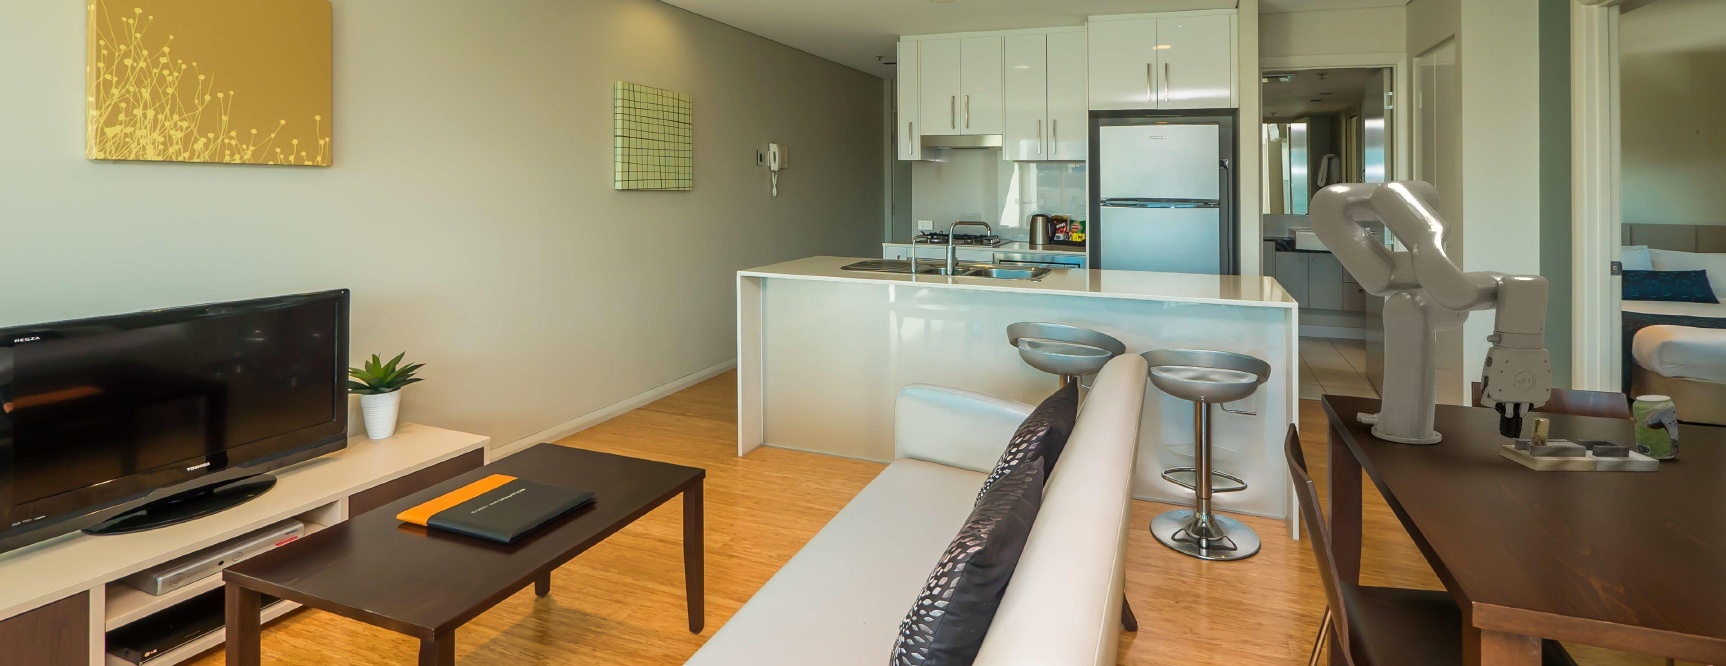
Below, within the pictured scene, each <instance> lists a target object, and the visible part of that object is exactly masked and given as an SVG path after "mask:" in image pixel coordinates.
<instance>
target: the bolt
mask: <svg viewBox="0 0 1726 666" xmlns="http://www.w3.org/2000/svg"><path fill="white" fill-rule="evenodd" d="M1531 428H1532V429H1531V438H1530V439H1531V442H1526V451H1529V452H1530V447H1531V445H1542V446H1580V445H1577V444H1576V442H1575V443H1574V442H1572V441H1570V442H1547V440H1548V439H1549V429H1550V419H1549V418H1546V417H1545V418H1544V417H1533V419H1532V427H1531Z"/></svg>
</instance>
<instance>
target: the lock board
mask: <svg viewBox="0 0 1726 666" xmlns="http://www.w3.org/2000/svg"><path fill="white" fill-rule="evenodd" d="M1514 439H1515V440H1514V444H1511V445H1510V444H1501V447H1500V456H1501V457H1505V459H1508V460H1511V461H1513V462H1516V463H1518V464H1520V465H1522V466H1525V467H1526V468H1529V469H1531V470H1533V471H1537V472H1539V471H1544V472H1545V471H1550V472H1551V471H1553V472H1554V471H1555V472H1556V471H1558V472H1561V471H1569V472H1571V471H1573V472H1581V471H1583V472H1658V471H1659V468H1660V467H1659V466H1660V459H1653V458H1650V457H1648V456H1645V455H1642V454H1639V453H1637V451H1633V450H1631V449H1630V448H1631V447H1629V446H1627V445H1624V444H1622V443H1618V442H1616V441H1615V442H1614V441H1613V440H1609V439H1597V438H1596V439H1589V438H1588V439H1575V444H1577V445H1580V446H1542V445H1531V447H1530V452H1529V451H1526V442H1531V438H1530V439H1527V438H1525V439H1524V438H1523V439H1522V438H1514ZM1547 442H1571V441H1570V440H1567V439H1566V438H1564V439H1563V438H1562V439H1556V438H1555V439H1554V438H1553V439H1552V438H1551V439H1549V438H1548V440H1547Z"/></svg>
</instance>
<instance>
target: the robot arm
mask: <svg viewBox="0 0 1726 666" xmlns="http://www.w3.org/2000/svg"><path fill="white" fill-rule="evenodd" d="M1440 205H1441V197H1440V193H1439V191H1438V190H1437V188H1436V187H1435V185H1432V184H1431V183H1430V182H1428V181H1425V180H1419V179H1418V180H1416V179H1415V180H1408V179H1407V180H1404V179H1403V180H1391V181H1386V182H1342V183H1334V184H1330V185H1327V186H1326V185H1325V186H1324V187H1322V188H1321V189H1319V190H1317V192H1316V193H1315V194H1314V195H1313V196H1312V199H1311V201H1310V204H1309V211H1308V217H1309V218H1308V219H1309V223H1310V224H1309V225H1310V226H1311V230H1312V232H1313V234H1314V235H1315V236H1316V237H1317V239H1318V240H1319V241H1320V242H1321V244H1322V245H1323V246H1324V247H1325V248H1326V249H1327V250H1328V251H1330V253H1331V254H1332V255H1334V257H1335V258H1336V259H1337V260H1338V261H1339V262H1340V263H1341V265H1342V266H1343V267H1344V268H1345V269H1346V270H1347V271H1348V273H1350V275H1351V276H1352V278H1353V279H1355V281H1356V282H1357V283H1358V284H1359V286H1361V288H1363V289H1364V290H1365V292H1366V293H1368V294H1370V295H1372V296H1376V297H1389V298H1388V299H1387V300H1386V302H1384V305H1383V308H1382V323H1383V324H1382V325H1383V329H1384V339H1385V340H1384V342H1385V343H1384V347H1385V348H1384V350H1385V351H1384V362H1383V363H1384V367H1383V368H1384V369H1383V383H1382V398H1381V409H1380V411H1379V413H1377V412H1375V413H1374V414H1371V413H1365V412H1357V415H1356V420H1357V422H1361V424H1366V425H1368V424H1371V425H1373V426H1372V427H1371V434H1372V435H1373V436H1374V437H1376V438H1379V439H1382V440H1386V441H1389V442H1394V443H1395V442H1396V443H1401V444H1411V445H1433V444H1437V443H1439V442H1441V441H1442V437H1443V435H1442V434H1441V433H1440V432H1438V431H1436V430H1434V426H1435V424H1434V423H1435V411H1436V398H1437V388H1438V377H1439V376H1438V373H1439V359H1440V358H1439V356H1440V355H1439V348H1438V344H1437V341H1436V338H1435V333H1441V332H1448V331H1453V330H1455V329H1458V328H1460V327H1462V325H1464V324H1465V323H1466V321H1467V320H1468V318H1469V316H1470V312H1475V311H1489V310H1495V314H1494V327H1493V331H1492V334H1490V335H1489V334H1488V335H1487V336H1486V341H1487V342H1488V343H1491V345H1492V346H1489V347H1488V350H1487V353H1486V355H1485V359H1484V362H1483V368H1482V373H1481V379H1480V395H1481V396H1482V397H1481V400H1480V404H1481V405H1482V406H1485V407H1487V408H1492V409H1494V410H1495V411H1496V413H1497V414H1498V415H1500V416H1499V417H1500V419H1499V427H1498V428H1499V434H1500V435H1501V436H1503V437H1506V438H1508V439H1521V433H1522V430H1523V429H1522V428H1523V419H1524V418H1526V417H1527V416H1528V413H1529V412H1530V411H1532V410H1533V409H1536V408H1541V407H1544V406H1545V405H1546V402H1547V401H1549V399H1550V398H1551V393H1552V368H1551V367H1552V365H1551V358H1550V352H1549V349H1547V348H1544V344H1545V329H1546V320H1547V310H1548V302H1549V301H1548V300H1549V289H1550V285H1549V283H1550V282H1549V281H1548V279H1547V278H1546V277H1545V276H1541V275H1535V274H1511V273H1510V274H1509V273H1504V272H1500V271H1494V270H1492V271H1491V270H1484V271H1482V270H1481V271H1467V272H1465V271H1464V272H1463V271H1462V270H1461V269H1460V268H1459V267H1458V266H1457V265H1456V264H1455V263H1454V262H1453V261H1452V260H1451V258H1449V256H1448V255H1447V254H1446V252H1445V249H1444V247H1443V245H1444V243H1446V242H1447V241H1448V239H1449V238H1450V236H1451V235H1452V227H1451V225H1450V223H1448V222H1447V221H1446V220H1445V218H1443V216H1441V215H1440V214H1439V213H1438V212H1437V211H1438V210H1439V208H1440ZM1365 221H1368V222H1369V221H1380V222H1381V223H1382V224H1383V225H1384V227H1385V228H1387V229H1388V231H1390V233H1391V234H1392V235H1393V236H1394V237H1395V238H1396V239H1397V240H1398V241H1399V242H1400V243H1401V244H1402V246H1403V247H1405V248H1406V251H1404V250H1403V251H1394V250H1390V249H1389V248H1387V247H1386V246H1385V245H1384V244H1382V242H1381V241H1379V240H1378V238H1377V237H1376V236H1375V235H1374V234H1373V233H1371V231H1370V230H1368V229H1367V228H1365V227H1363V226H1361V225H1360V224H1358V223H1357V222H1365Z"/></svg>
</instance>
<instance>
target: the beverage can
mask: <svg viewBox="0 0 1726 666" xmlns="http://www.w3.org/2000/svg"><path fill="white" fill-rule="evenodd" d="M1632 414H1633V423H1634V425H1633V426H1634V436H1635V437H1634V438H1635V446H1636V447H1635V448H1636V449H1635V450H1636V453H1639V454H1642V455H1645V456H1648V457H1650V458H1653V459H1656V460H1666V459H1668V460H1669V459H1673V458H1674V457H1675V456H1677V455H1679V454H1680V442H1679V431H1678V419H1677V406H1676V403H1675V402H1674V401H1673V400H1672V398H1671V397H1670V396H1669V395H1663V394H1644V395H1639V396H1637V397H1636V398H1635V400H1634V401H1633V403H1632Z"/></svg>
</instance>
